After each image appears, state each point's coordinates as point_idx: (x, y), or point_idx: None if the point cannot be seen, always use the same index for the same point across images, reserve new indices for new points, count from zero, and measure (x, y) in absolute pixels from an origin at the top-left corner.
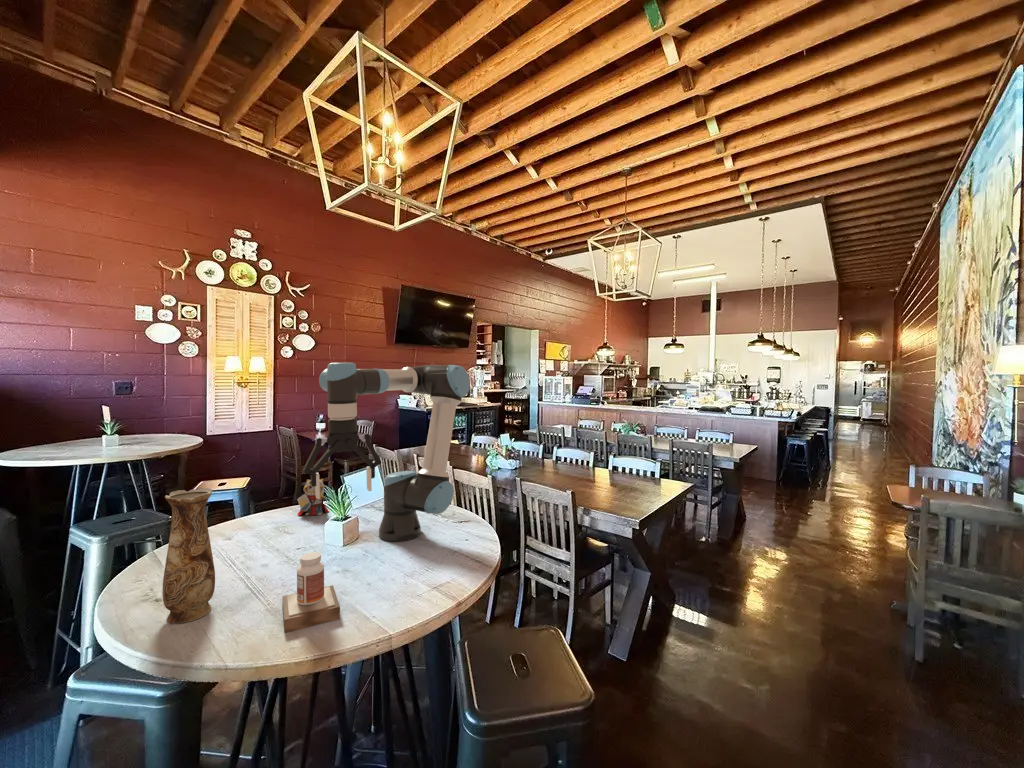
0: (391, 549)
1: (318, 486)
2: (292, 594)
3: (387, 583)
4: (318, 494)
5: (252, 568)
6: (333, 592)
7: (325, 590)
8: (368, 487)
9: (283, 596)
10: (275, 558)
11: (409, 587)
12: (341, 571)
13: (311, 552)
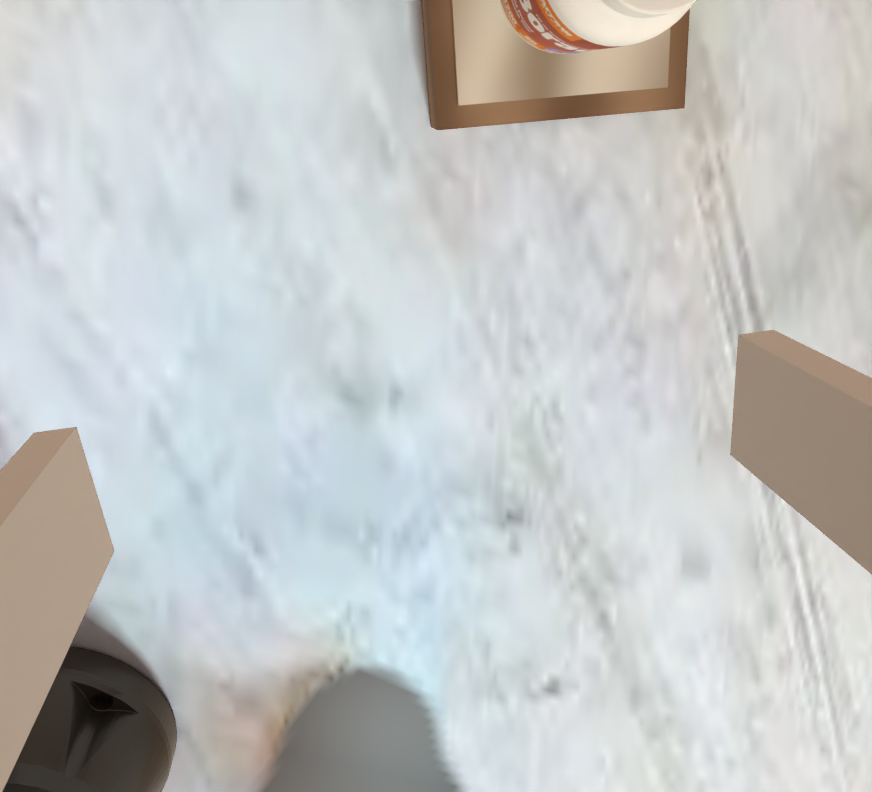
0: (110, 566)
1: (864, 394)
2: (638, 106)
3: (138, 161)
4: (786, 352)
5: (741, 549)
6: (440, 31)
7: (481, 64)
8: (66, 473)
9: (680, 100)
10: (649, 617)
11: (4, 53)
12: (377, 394)
13: (650, 8)
